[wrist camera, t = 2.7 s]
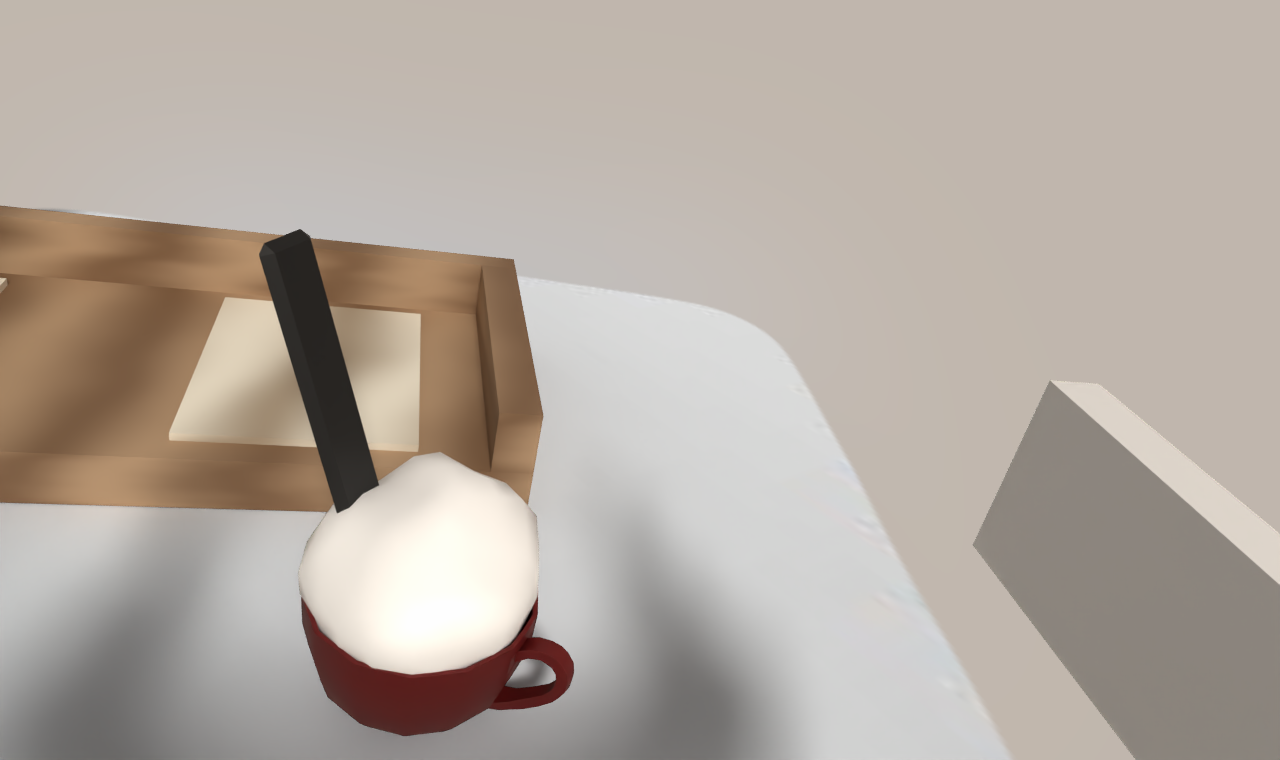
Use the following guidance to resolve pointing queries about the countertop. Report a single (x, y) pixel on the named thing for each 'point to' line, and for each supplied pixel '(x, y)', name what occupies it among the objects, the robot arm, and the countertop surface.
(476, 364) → the tray
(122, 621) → the countertop surface
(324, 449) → the cocoa
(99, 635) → the countertop surface
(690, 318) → the countertop surface
